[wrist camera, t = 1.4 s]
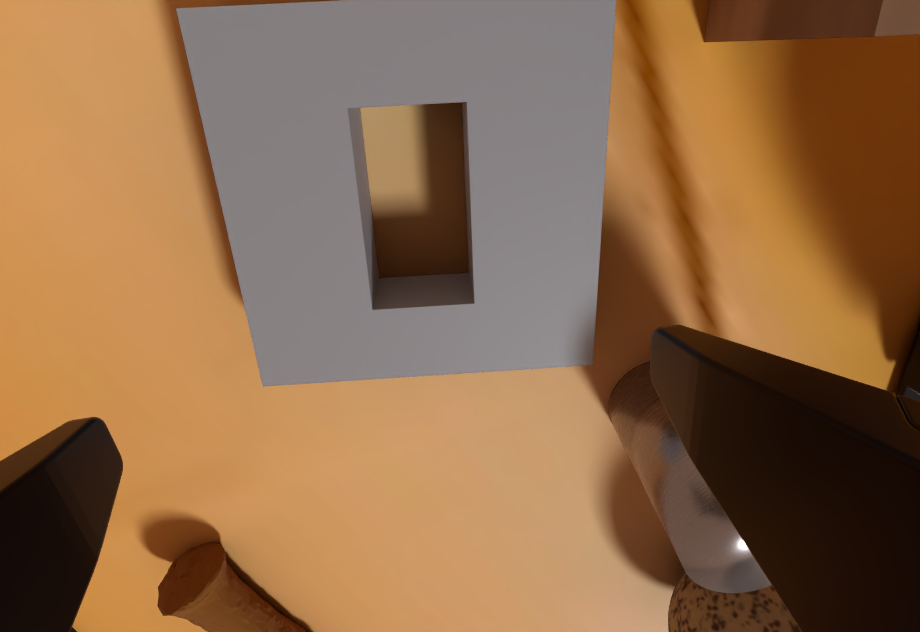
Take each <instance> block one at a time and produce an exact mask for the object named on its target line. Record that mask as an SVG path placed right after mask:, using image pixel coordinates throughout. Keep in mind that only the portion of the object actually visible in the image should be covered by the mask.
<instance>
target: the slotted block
mask: <svg viewBox="0 0 920 632" xmlns="http://www.w3.org/2000/svg"><path fill="white" fill-rule="evenodd" d="M176 11H177V15H178V20H179V24H180V28H181V33H182V37H183V41H184V46H185V50H186V54H187V59H188V63H189V67H190V72H191V76H192V80H193V85H194V89H195V93H196V98H197V102H198V107H199V111H200V115H201V120H202V124H203V128H204V133H205V137H206V141H207V146H208V150H209V154H210V159H211V163H212V167H213V172H214V176H215V180H216V185H217V189H218V193H219V198H220V202H221V206H222V211H223V215H224V219H225V224H226V228H227V233H228V237H229V241H230V246H231V250H232V254H233V259H234V263H235V267H236V272H237V276H238V280H239V285H240V289H241V293H242V298H243V302H244V306H245V311H246V315H247V319H248V324H249V328H250V332H251V337H252V341H253V345H254V350H255V354H256V358H257V363H258V367H259V372H260V376H261V380H262V385H263V386H278V385H293V384H308V383H324V382H339V381H354V380H370V379H385V378H400V377H416V376H431V375H446V374H462V373H477V372H492V371H508V370H523V369H538V368H554V367H569V366H584V365H593V354H594V338H595V322H596V307H597V291H598V276H599V260H600V245H601V229H602V213H603V198H604V182H605V167H606V151H607V135H608V120H609V104H610V89H611V73H612V58H613V42H614V26H615V11H616V0H339V1H318V2H298V3H277V4H256V5H235V6H214V7H193V8H176ZM456 102H462V118H463V142H464V167H465V191H466V215H467V239H468V263H469V273H453V274H437V275H420V276H404V277H387V278H379V270H378V262H377V253H376V244H375V235H374V227H373V218H372V209H371V200H370V192H369V183H368V174H367V166H366V157H365V148H364V139H363V131H362V122H361V113H360V108H361V107H380V106H399V105H418V104H437V103H456Z"/></svg>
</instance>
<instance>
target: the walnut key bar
mask: <svg viewBox="0 0 920 632" xmlns="http://www.w3.org/2000/svg"><path fill="white" fill-rule="evenodd" d="M915 34H920V0H709V7H708V15H707V23H706V31H705V39H704V42H724V41H754V40H785V39H815V38H845V37H875V36H895V35H915Z"/></svg>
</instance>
